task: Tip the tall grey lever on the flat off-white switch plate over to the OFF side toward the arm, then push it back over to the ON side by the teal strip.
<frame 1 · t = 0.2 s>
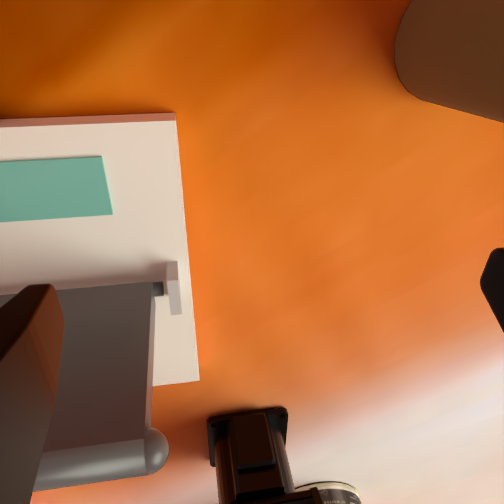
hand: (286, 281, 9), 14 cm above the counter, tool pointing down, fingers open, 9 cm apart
switch plate: (38, 277, 25), on the counter
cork: (452, 37, 21), on the counter
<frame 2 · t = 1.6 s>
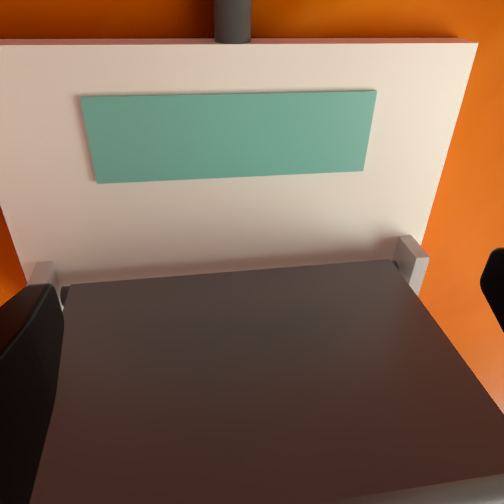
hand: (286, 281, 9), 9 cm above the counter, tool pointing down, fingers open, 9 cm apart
switch plate: (232, 255, 20), on the counter
lever: (257, 375, 14), point 7 cm above the counter, hinge at 0.0°
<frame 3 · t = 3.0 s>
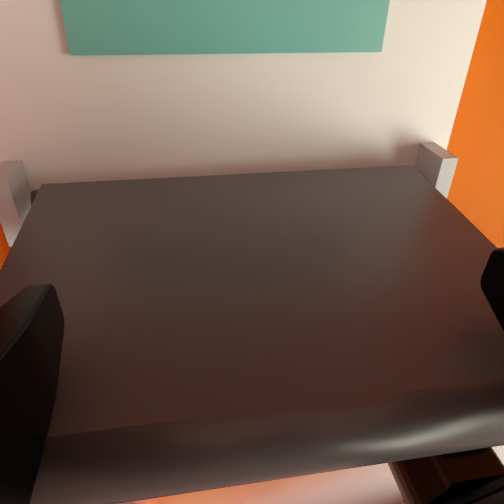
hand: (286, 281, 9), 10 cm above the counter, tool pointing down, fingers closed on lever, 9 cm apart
switch plate: (230, 169, 17), on the counter
lever: (260, 276, 12), point 7 cm above the counter, hinge at -3.8°, touching gripper
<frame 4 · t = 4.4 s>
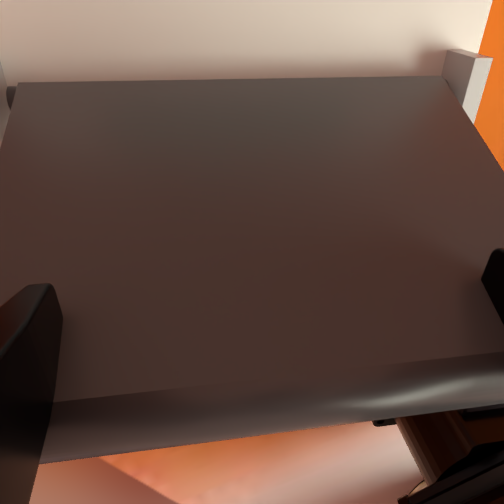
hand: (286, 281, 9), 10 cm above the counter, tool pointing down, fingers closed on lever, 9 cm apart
switch plate: (234, 82, 16), on the counter
lever: (265, 213, 11), point 7 cm above the counter, hinge at -22.5°, touching gripper
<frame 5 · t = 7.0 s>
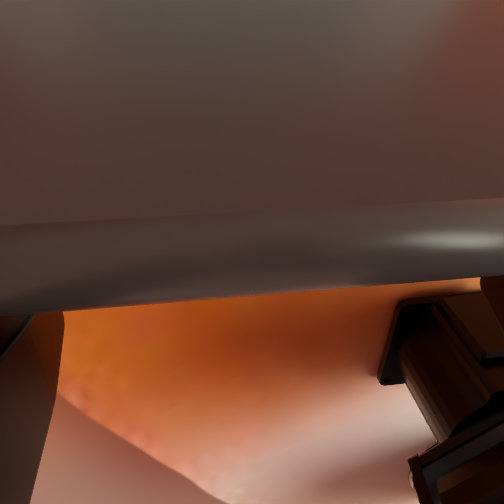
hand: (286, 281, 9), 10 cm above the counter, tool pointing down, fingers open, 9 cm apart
lever: (269, 67, 9), point 7 cm above the counter, hinge at -22.6°, touching gripper
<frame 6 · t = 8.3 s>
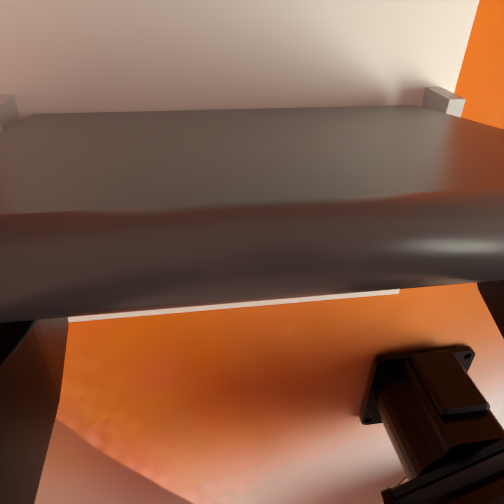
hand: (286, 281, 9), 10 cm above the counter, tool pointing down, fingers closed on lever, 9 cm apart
switch plate: (229, 114, 17), on the counter
lever: (259, 169, 11), point 7 cm above the counter, hinge at 8.2°, touching gripper
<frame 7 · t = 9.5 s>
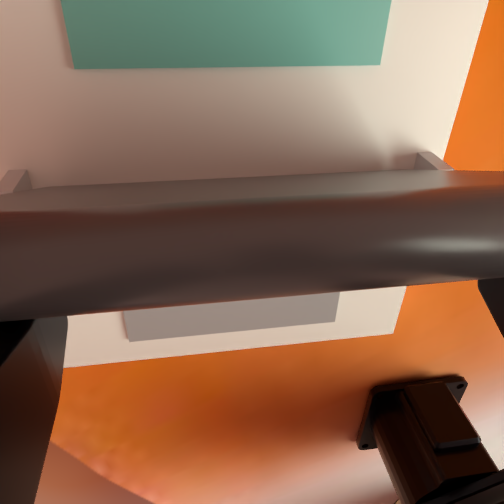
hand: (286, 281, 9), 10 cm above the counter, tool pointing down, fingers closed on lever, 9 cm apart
switch plate: (230, 176, 18), on the counter
lever: (259, 213, 11), point 7 cm above the counter, hinge at 23.1°, touching gripper
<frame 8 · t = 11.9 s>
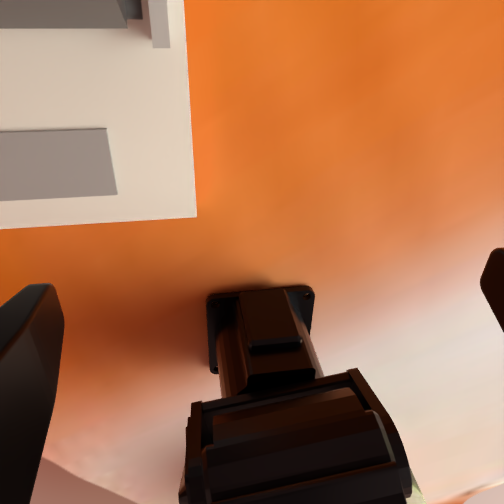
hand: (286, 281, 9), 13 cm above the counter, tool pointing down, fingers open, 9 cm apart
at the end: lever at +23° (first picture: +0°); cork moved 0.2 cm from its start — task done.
